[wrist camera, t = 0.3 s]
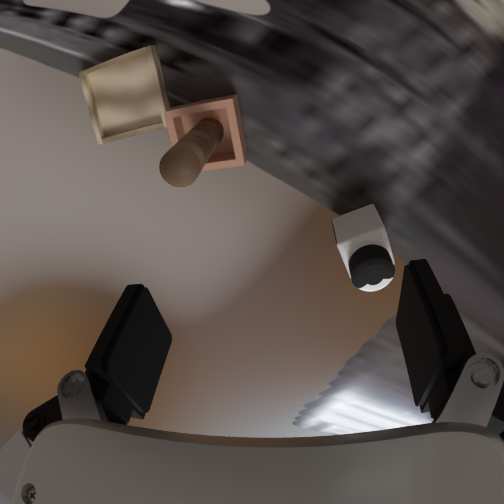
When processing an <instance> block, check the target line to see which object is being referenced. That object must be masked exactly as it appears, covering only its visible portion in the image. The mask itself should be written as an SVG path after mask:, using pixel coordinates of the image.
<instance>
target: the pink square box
mask: <svg viewBox="0 0 504 504" xmlns="http://www.w3.org/2000/svg"><path fill="white" fill-rule="evenodd" d="M164 116H165V120H166V124H167V128H168V132H169V135H170V139H171V143H172V147H173V146H174V145H175V144H176V143H177V142H178V141H179V140H180V139H181V138H182V137H183V136H184V135H185V134H187V133H188V132H189V131H190V130H191V129H192V128H193V127H194V126H195V125H196V124H197V123H199V122H200V121H201V120H203V119H205V118H213V119H216V120H218V121H219V122H220V123H221V124H222V126H223V128H224V136H223V138H222V140H221V141H220V143H219V144H218V146H217V147H216V149H215V150H214V152H213V153H212V155H211V156H210V158H209V160H208V161H207V163H206V164H205V166H204V167H203V169H202V170H201V171H207V170H214V169H221V168H229V167H237V166H244V165H245V163H246V161H247V158H248V152H247V146H246V140H245V135H244V129H243V124H242V118H241V113H240V107H239V102H238V96H237V94H235V95H229V96H223V97H217V98H212V99H207V100H201V101H196V102H192V103H187V104H182V105H178V106H174V107H172V108H170V109H168V110H167V111H165V112H164Z"/></svg>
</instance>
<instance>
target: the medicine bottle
mask: <svg viewBox="0 0 504 504" xmlns="http://www.w3.org/2000/svg"><path fill="white" fill-rule="evenodd" d="M332 225H333V230H334V235H335V239H336V244H337V247H338V249H339V252H340V254H341V256H342V259H343V261H344V264H345V266H346V268H347V271H348V273H349V276H350V278H351V280H352V283H353V284H354V286H355V287H357V288H358V289H360V290H363V291H370V292H371V291H377V290H380V289H382V288H384V287H385V286H387V285H388V284H389V283H390V281H391V280H392V278H393V277H394V273H395V267H394V263H395V262H394V258H393V255H392V250H391V247H390V243H389V240H388V236H387V233H386V230H385V227H384V225H383V223H382V220H381V218H380V216H379V214H378V212H377V210H376V208H375V206H374V204H370V205H367V206H364V207H362V208H359V209H356V210H354V211H351V212H348V213H346V214H343V215H340V216H338V217H335V218H333V219H332Z"/></svg>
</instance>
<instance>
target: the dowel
mask: <svg viewBox="0 0 504 504" xmlns="http://www.w3.org/2000/svg"><path fill="white" fill-rule="evenodd" d="M223 136H224V128H223V126H222V124H221V123H220V122H219V121H218V120H216V119H213V118H205V119H203V120H201V121H200V122H199V123H197V124H196V125H195V126H194V127H193V128H192V129H191V130H190V131H189V132H188V133H187V134H185V135H184V136H183V137H182V138H181V139H180V140H179V141H178V142H177V143H176V144H175V145H174V146H173V147H172V148H171V149H170V150H169V151H168V152H167V153H166V154H165V155H164V156H163V157H162V159H161V161H160V166H159V167H160V173H161V175H162V177H163V179H164V180H165V181H166V182H168V183H169V184H170V185H172V186H175V187H186V186H189V185H191V184H192V183H193V182H194V181H195V180H196V178H197V177H198V175H199V174H200V172H201V170H202V169H203V167H204V166H205V164H206V163H207V161H208V160H209V158H210V156H211V155H212V153H213V152H214V150H215V149H216V147H217V146H218V144H219V143H220V141H221V140H222V138H223Z"/></svg>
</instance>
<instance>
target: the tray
mask: <svg viewBox="0 0 504 504" xmlns="http://www.w3.org/2000/svg"><path fill="white" fill-rule="evenodd" d="M79 76H80V80H81V84H82V88H83V92H84V95H85V99H86V103H87V107H88V110H89V114H90V117H91V121H92V124H93V128H94V131H95V134H96V138H97V141H98V144H99V145H101V144H105V143H108V142H112V141H115V140H119V139H122V138H126V137H130V136H134V135H138V134H142V133H146V132H150V131H154V130H158V129H163V128H167V124H166V120H165V116H164V112H165V111H167V110H168V109H170V104H169V100H168V95H167V91H166V87H165V82H164V78H163V73H162V69H161V64H160V60H159V55H158V51H157V46H156V45H150V46H147V47H144V48H141V49H138V50H135V51H132V52H129V53H127V54H124V55H121V56H118V57H116V58H113V59H111V60H108V61H105V62H103V63H101V64H98V65H96V66H93V67H91V68H89V69H86V70H84V71H82V72H80V73H79Z"/></svg>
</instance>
